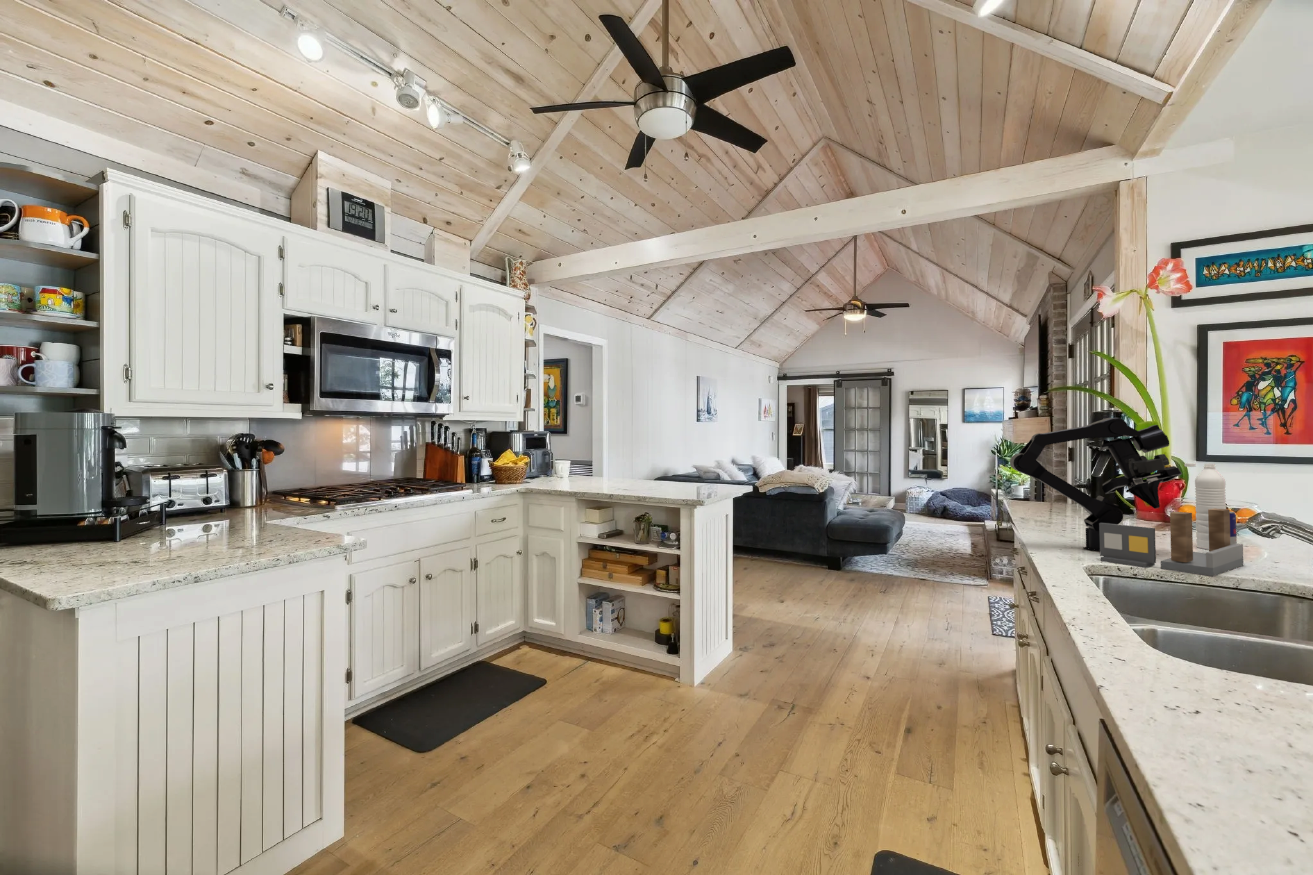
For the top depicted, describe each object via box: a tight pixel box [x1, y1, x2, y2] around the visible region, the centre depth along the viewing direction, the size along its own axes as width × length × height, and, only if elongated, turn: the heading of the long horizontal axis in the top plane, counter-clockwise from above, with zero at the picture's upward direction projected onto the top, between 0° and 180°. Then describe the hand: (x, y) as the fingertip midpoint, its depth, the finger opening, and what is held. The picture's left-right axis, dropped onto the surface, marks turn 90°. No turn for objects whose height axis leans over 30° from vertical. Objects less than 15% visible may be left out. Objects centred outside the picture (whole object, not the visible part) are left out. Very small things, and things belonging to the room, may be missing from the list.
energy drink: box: [1230, 511, 1238, 545], centre depth 161 cm, size 5×5×12 cm
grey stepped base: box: [1160, 543, 1244, 577], centre depth 148 cm, size 10×20×6 cm, turn 120°
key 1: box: [1169, 511, 1194, 563], centre depth 146 cm, size 3×4×12 cm
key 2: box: [1208, 508, 1230, 552], centre depth 150 cm, size 3×4×12 cm
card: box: [1099, 523, 1157, 569], centre depth 154 cm, size 12×5×10 cm, turn 30°
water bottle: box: [1184, 462, 1227, 551], centre depth 170 cm, size 9×6×25 cm
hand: (1157, 508), depth 161 cm, fingers closed
